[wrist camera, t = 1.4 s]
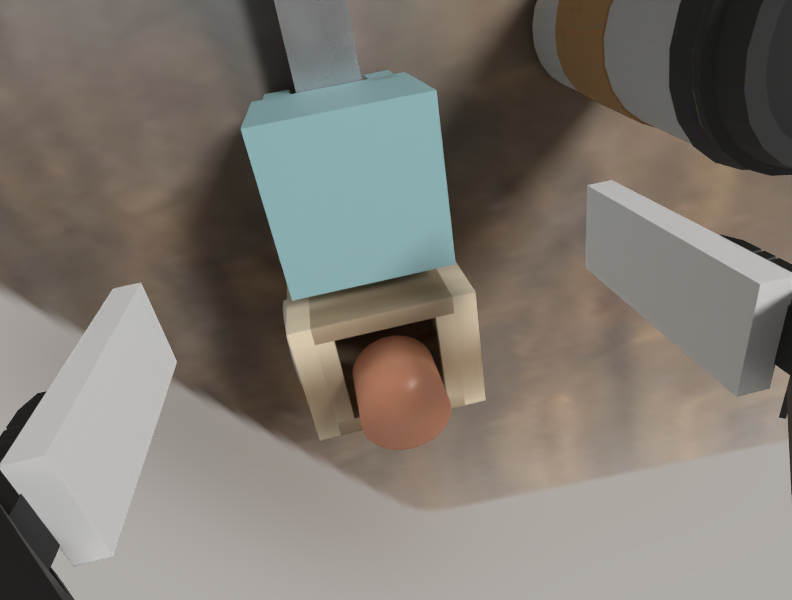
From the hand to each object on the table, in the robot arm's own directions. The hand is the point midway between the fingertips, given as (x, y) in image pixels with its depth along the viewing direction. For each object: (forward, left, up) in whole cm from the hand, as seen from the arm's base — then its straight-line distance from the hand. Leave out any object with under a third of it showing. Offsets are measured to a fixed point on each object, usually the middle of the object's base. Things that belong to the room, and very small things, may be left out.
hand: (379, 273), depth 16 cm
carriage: (0, 0, -14) cm, 14 cm away
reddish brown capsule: (+7, 0, -5) cm, 9 cm away
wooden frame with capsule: (+7, 0, -14) cm, 16 cm away
